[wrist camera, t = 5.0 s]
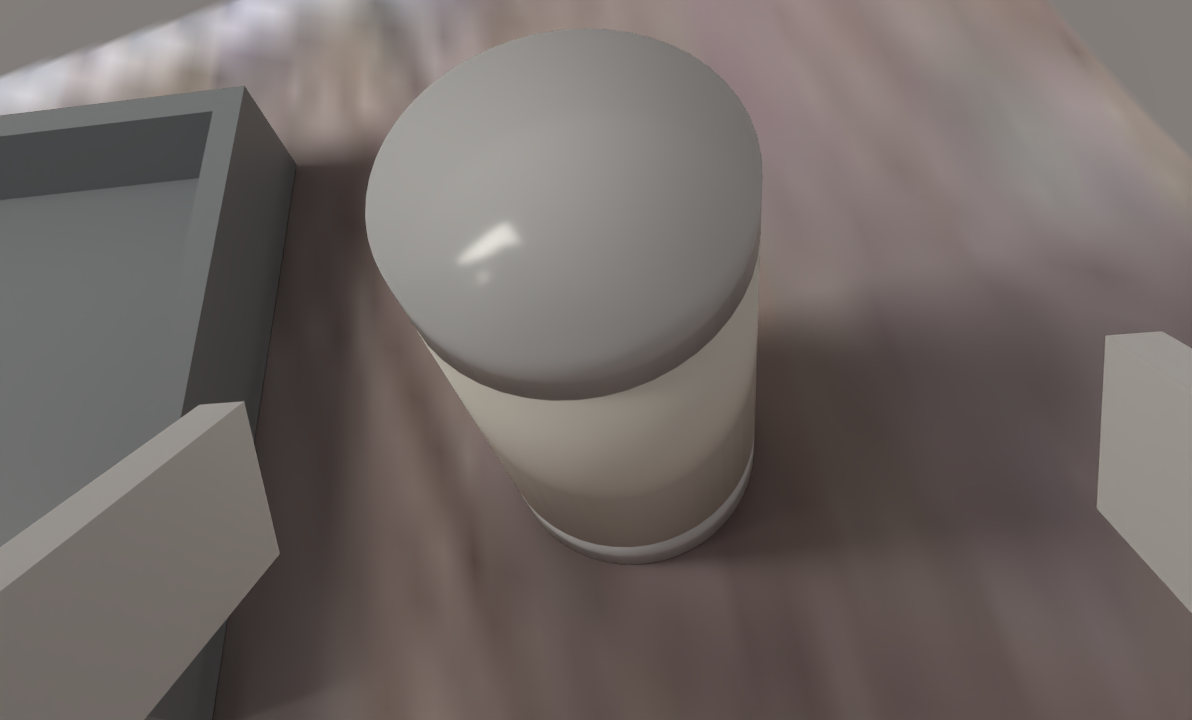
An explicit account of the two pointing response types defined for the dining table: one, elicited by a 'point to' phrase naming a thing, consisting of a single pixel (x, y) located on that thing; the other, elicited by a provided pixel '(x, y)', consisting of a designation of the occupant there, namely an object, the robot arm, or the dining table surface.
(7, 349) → the parts tray
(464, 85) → the grey lidded jar
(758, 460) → the dining table surface
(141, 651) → the robot arm
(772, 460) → the dining table surface
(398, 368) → the dining table surface
